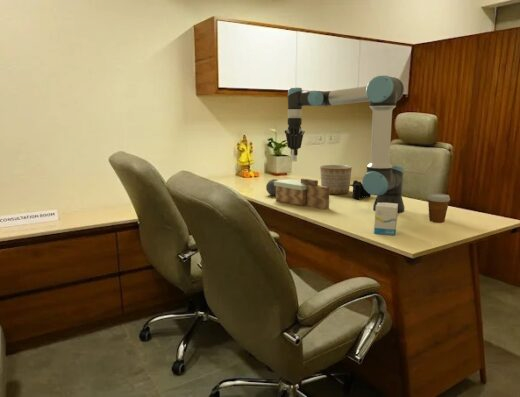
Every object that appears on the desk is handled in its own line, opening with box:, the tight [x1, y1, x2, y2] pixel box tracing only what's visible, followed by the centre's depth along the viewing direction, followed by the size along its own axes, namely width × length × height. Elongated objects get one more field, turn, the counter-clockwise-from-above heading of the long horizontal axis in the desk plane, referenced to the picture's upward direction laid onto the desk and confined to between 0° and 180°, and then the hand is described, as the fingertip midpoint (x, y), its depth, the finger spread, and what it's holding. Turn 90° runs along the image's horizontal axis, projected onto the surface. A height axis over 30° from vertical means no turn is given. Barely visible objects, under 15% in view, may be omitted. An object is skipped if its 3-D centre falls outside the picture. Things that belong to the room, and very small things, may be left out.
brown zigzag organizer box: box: [275, 184, 330, 210], centre depth 216 cm, size 34×9×12 cm, turn 42°
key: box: [300, 178, 319, 185], centre depth 211 cm, size 10×2×2 cm, turn 42°
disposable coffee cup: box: [426, 193, 451, 224], centre depth 179 cm, size 10×10×12 cm
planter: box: [319, 164, 353, 196], centre depth 248 cm, size 19×19×16 cm
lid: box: [274, 178, 309, 190], centre depth 220 cm, size 21×11×2 cm, turn 42°
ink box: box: [373, 202, 398, 236], centre depth 163 cm, size 9×8×12 cm
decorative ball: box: [265, 179, 280, 197], centre depth 241 cm, size 10×10×10 cm
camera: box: [352, 179, 372, 201], centre depth 232 cm, size 14×11×10 cm
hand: (294, 161), depth 217 cm, fingers closed
